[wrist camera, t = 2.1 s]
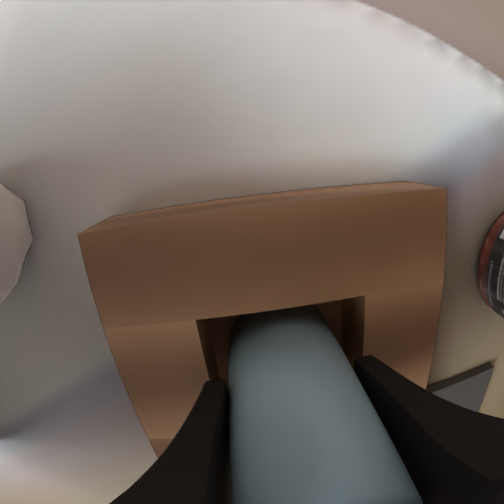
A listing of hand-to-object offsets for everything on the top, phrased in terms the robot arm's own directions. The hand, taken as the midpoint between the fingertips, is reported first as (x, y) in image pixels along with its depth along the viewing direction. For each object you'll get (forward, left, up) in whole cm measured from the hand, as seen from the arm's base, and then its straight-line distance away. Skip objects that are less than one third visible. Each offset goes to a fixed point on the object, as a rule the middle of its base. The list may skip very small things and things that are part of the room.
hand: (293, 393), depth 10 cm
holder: (0, 0, -4) cm, 4 cm away
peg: (0, 0, -3) cm, 3 cm away
